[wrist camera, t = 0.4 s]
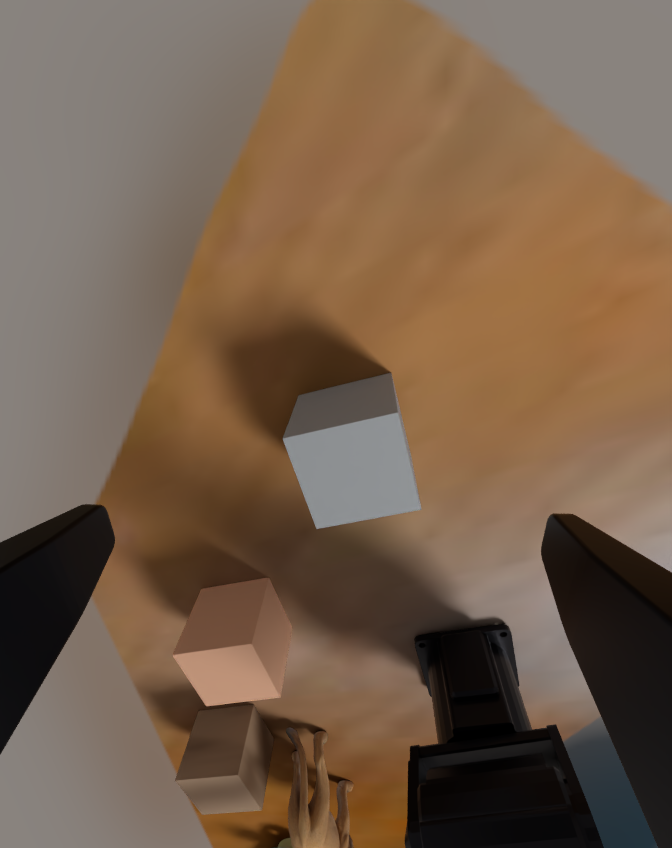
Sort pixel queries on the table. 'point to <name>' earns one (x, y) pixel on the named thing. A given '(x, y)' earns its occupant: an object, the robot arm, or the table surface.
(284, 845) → the pacifier
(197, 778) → the walnut block
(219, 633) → the terracotta block
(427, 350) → the table surface
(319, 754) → the lion figurine
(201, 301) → the table surface
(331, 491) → the slate grey block
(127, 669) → the table surface
